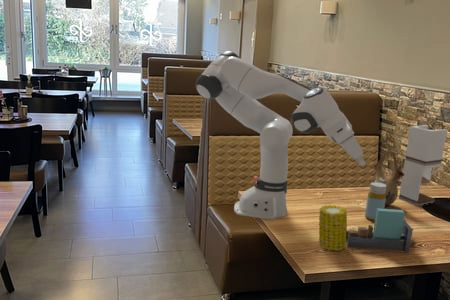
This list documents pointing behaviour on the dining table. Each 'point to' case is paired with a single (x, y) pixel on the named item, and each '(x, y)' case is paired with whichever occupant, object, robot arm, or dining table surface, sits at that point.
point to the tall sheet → (388, 223)
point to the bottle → (375, 199)
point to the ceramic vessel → (388, 179)
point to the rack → (383, 241)
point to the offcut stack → (361, 232)
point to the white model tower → (421, 162)
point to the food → (332, 227)
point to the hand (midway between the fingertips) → (359, 160)
